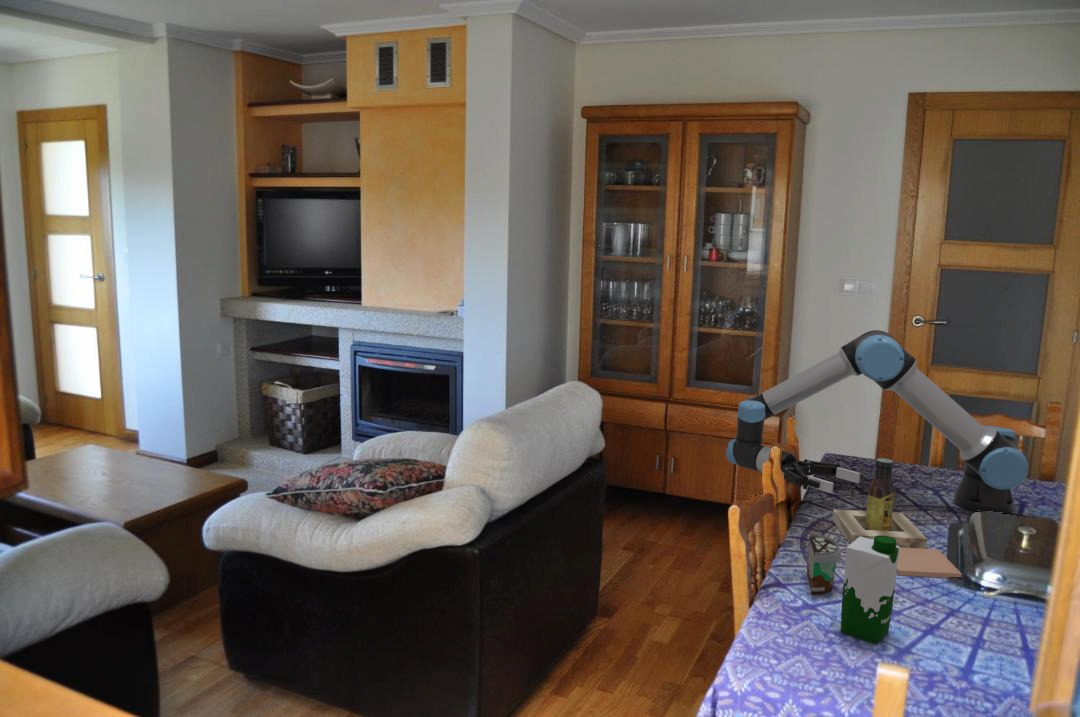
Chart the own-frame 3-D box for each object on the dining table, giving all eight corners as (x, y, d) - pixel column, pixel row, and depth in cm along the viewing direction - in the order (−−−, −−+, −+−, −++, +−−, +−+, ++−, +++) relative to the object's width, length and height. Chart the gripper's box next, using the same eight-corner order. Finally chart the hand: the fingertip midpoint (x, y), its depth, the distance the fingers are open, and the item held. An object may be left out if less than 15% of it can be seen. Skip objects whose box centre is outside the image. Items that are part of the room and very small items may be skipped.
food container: (841, 600, 182) (845, 556, 180) (811, 597, 183) (815, 553, 181) (833, 576, 194) (837, 534, 192) (805, 573, 195) (809, 532, 193)
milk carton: (880, 648, 163) (890, 549, 159) (833, 632, 168) (842, 536, 165) (894, 631, 169) (905, 536, 166) (849, 616, 175) (858, 524, 171)
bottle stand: (900, 523, 228) (901, 512, 227) (925, 550, 210) (927, 538, 210) (832, 520, 229) (833, 509, 228) (851, 546, 211) (852, 535, 211)
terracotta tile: (937, 553, 208) (937, 549, 208) (961, 578, 194) (961, 573, 194) (878, 551, 209) (879, 546, 209) (898, 575, 195) (898, 570, 195)
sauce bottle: (886, 541, 215) (893, 465, 212) (860, 535, 219) (868, 460, 215) (893, 533, 220) (901, 460, 217) (868, 528, 224) (875, 455, 220)
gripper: (800, 468, 249) (868, 487, 233) (749, 484, 233) (819, 506, 217) (802, 443, 248) (871, 461, 232) (751, 458, 232) (821, 478, 216)
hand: (846, 483), depth 225 cm, fingers open, 13 cm apart
